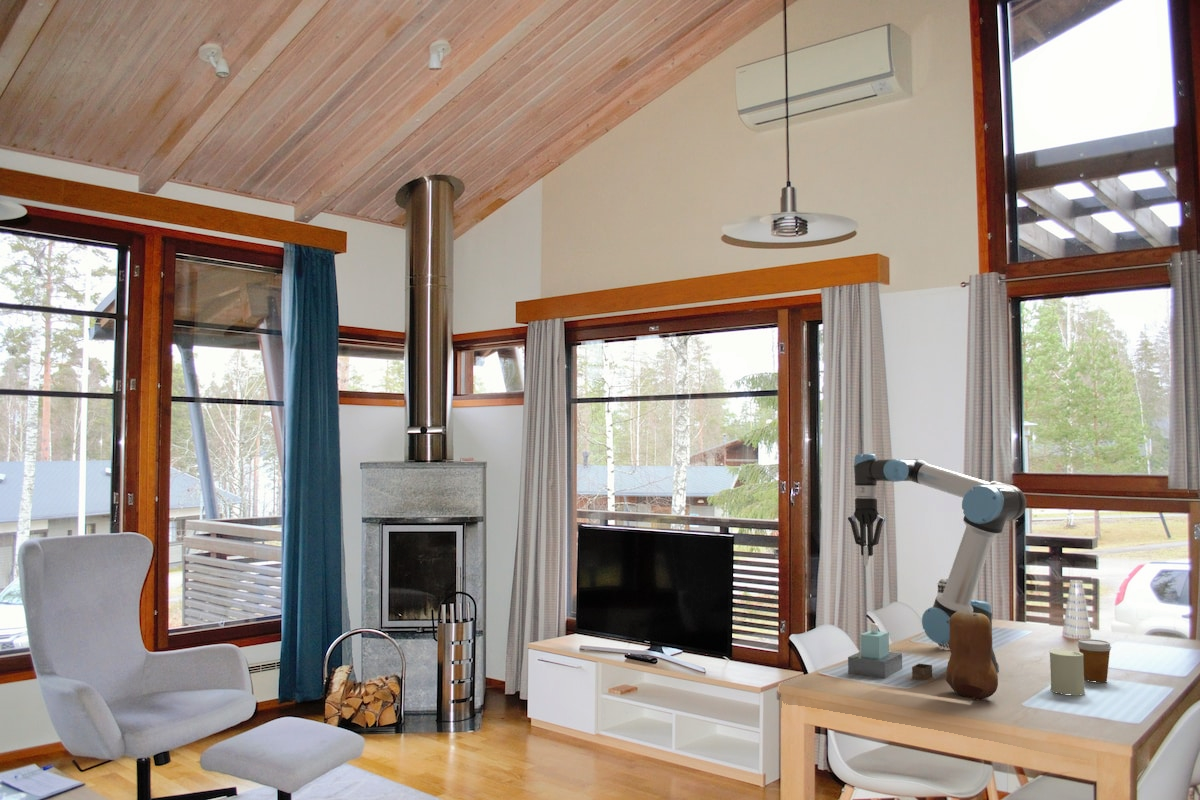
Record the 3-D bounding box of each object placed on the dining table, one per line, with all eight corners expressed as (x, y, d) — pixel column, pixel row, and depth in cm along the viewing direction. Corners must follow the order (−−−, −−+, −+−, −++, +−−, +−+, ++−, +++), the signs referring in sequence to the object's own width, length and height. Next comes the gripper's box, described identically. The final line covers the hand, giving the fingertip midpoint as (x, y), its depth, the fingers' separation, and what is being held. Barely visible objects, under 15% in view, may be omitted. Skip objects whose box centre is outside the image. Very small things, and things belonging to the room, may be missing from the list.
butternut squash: (993, 694, 272) (991, 608, 273) (1002, 705, 259) (999, 615, 260) (943, 691, 275) (941, 606, 276) (950, 702, 262) (948, 614, 263)
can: (1083, 697, 268) (1082, 655, 269) (1048, 693, 273) (1047, 652, 273) (1086, 690, 276) (1084, 650, 276) (1052, 686, 280) (1051, 646, 281)
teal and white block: (889, 666, 299) (888, 623, 300) (879, 671, 292) (878, 627, 293) (871, 664, 303) (870, 621, 304) (861, 669, 295) (860, 625, 296)
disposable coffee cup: (1100, 685, 282) (1098, 645, 283) (1071, 679, 290) (1070, 640, 291) (1119, 682, 286) (1118, 643, 287) (1090, 675, 295) (1089, 637, 295)
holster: (939, 680, 289) (938, 665, 289) (931, 684, 283) (931, 670, 283) (913, 676, 294) (913, 662, 294) (905, 681, 287) (905, 666, 288)
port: (902, 672, 300) (901, 652, 300) (885, 681, 287) (884, 660, 288) (866, 667, 307) (866, 648, 308) (848, 676, 294) (847, 656, 295)
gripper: (844, 497, 325) (845, 564, 323) (880, 498, 317) (881, 567, 315) (852, 496, 331) (853, 562, 329) (887, 497, 323) (889, 565, 321)
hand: (867, 565), depth 322 cm, fingers closed
